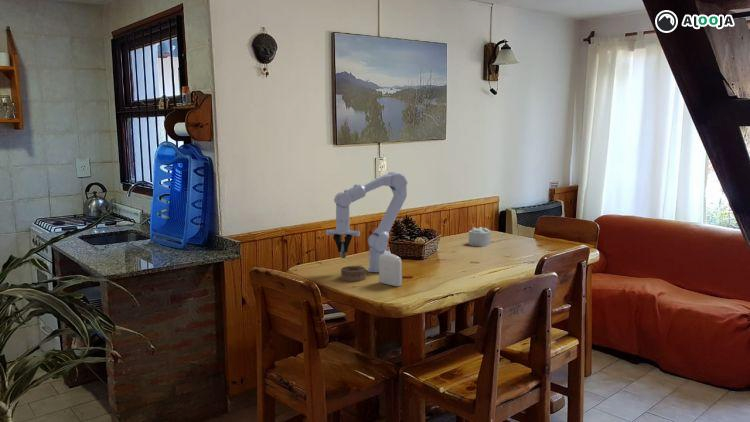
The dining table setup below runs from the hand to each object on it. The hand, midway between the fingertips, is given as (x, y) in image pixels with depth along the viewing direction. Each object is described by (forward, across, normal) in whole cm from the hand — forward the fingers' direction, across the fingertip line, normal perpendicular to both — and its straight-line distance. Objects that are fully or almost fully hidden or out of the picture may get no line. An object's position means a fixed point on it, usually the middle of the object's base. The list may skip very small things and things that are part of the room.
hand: (343, 251), depth 251 cm
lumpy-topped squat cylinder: (+10, +57, +76) cm, 96 cm away
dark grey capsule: (+2, 0, 0) cm, 2 cm away
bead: (+9, +6, -8) cm, 14 cm away
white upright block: (+10, +23, -13) cm, 28 cm away
